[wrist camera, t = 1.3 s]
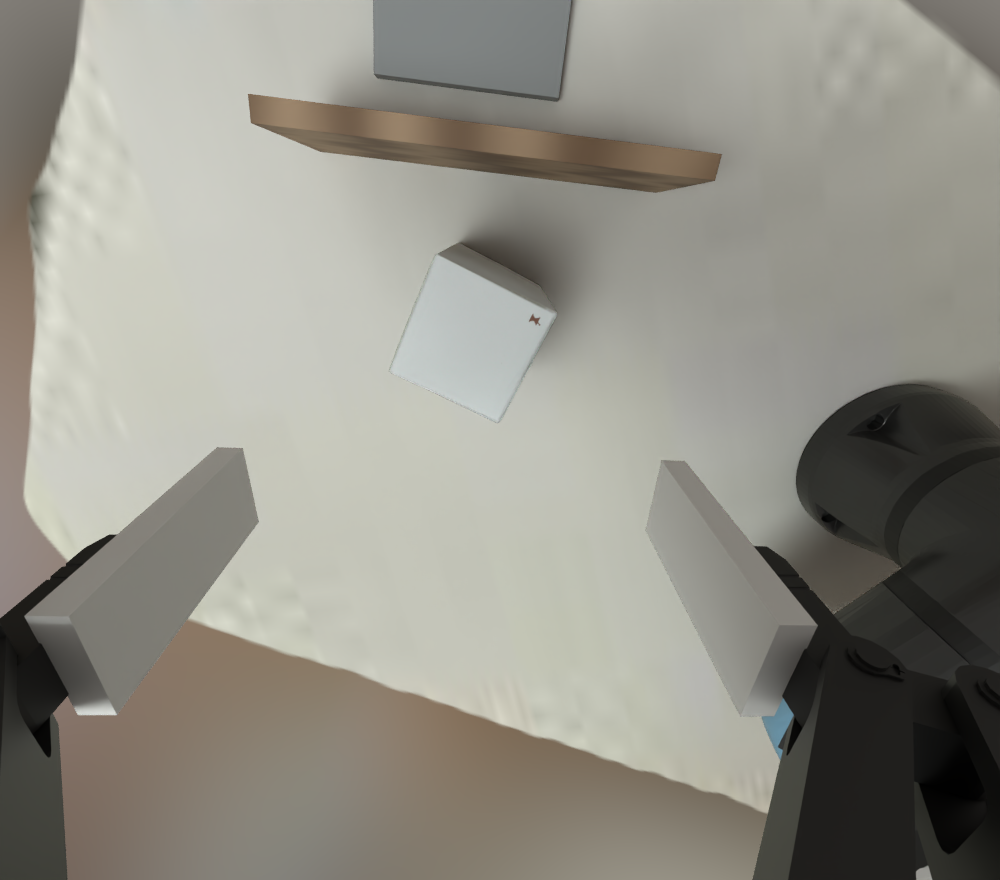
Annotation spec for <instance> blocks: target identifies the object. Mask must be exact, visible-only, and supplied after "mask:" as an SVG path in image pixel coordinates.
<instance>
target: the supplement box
mask: <svg viewBox="0 0 1000 880" xmlns="http://www.w3.org/2000/svg"><path fill="white" fill-rule="evenodd" d="M556 317H557V312H556V310H555V309H554V307H553V306H552V304H551V303H550V301H549V299H548V298H547V296H546V295H545V293H544V292H543V290H542V288H541V287H540V286H539V285H538V284H536V283H534V282H532V281H530V280H528V279H526V278H525V277H523V276H521V275H519V274H517V273H515V272H514V271H512V270H510V269H508V268H506V267H504V266H503V265H501V264H499V263H497V262H495V261H493V260H491V259H489V258H487V257H485V256H483V255H481V254H479V253H478V252H476V251H474V250H472V249H470V248H468V247H466V246H464V245H462V244H460V243H457V244H455V245H453V246H451V247H449V248H447V249H446V250H444V251H442V252H440V253H438V254H436V255H435V257H434V259H433V261H432V263H431V265H430V268H429V270H428V272H427V275H426V277H425V280H424V282H423V285H422V287H421V289H420V292H419V294H418V297H417V299H416V302H415V304H414V307H413V309H412V312H411V314H410V317H409V319H408V322H407V324H406V327H405V329H404V332H403V335H402V337H401V340H400V342H399V345H398V347H397V350H396V353H395V355H394V358H393V361H392V364H391V366H390V369H389V372H390V373H391V374H393V375H396V376H398V377H400V378H402V379H405V380H407V381H409V382H411V383H413V384H416V385H418V386H420V387H422V388H425V389H427V390H429V391H431V392H433V393H435V394H437V395H439V396H442V397H444V398H446V399H448V400H450V401H452V402H454V403H456V404H458V405H460V406H462V407H464V408H466V409H469V410H471V411H473V412H475V413H477V414H479V415H481V416H483V417H485V418H487V419H489V420H491V421H493V422H495V423H499V422H500V421H501V420H502V418H503V416H504V414H505V412H506V411H507V409H508V407H509V405H510V403H511V401H512V399H513V397H514V395H515V393H516V392H517V390H518V388H519V386H520V384H521V382H522V380H523V378H524V377H525V375H526V373H527V371H528V370H529V368H530V366H531V364H532V361H533V359H534V357H535V356H536V354H537V352H538V350H539V348H540V346H541V344H542V342H543V341H544V339H545V337H546V335H547V333H548V331H549V329H550V327H551V326H552V324H553V322H554V320H555V318H556Z"/></svg>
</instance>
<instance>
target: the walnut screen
mask: <svg viewBox="0 0 1000 880" xmlns="http://www.w3.org/2000/svg"><path fill="white" fill-rule="evenodd" d="M248 98H249V108H250V118H251V123H252V124H255V125H257V126H260V127H262V128H265V129H267V130H269V131H272V132H274V133H277V134H279V135H281V136H284V137H286V138H289V139H291V140H293V141H296V142H298V143H301V144H303V145H306V146H308V147H310V148H313V149H315V150H318V151H320V152H328V153H336V154H344V155H352V156H361V157H369V158H377V159H385V160H393V161H402V162H410V163H418V164H426V165H434V166H442V167H451V168H459V169H467V170H475V171H483V172H492V173H500V174H508V175H516V176H524V177H532V178H541V179H549V180H557V181H565V182H573V183H582V184H590V185H598V186H606V187H614V188H622V189H631V190H639V191H647V192H655V193H657V192H662V191H666V190H671V189H676V188H681V187H686V186H691V185H696V184H701V183H705V182H710V181H715V178H716V174H717V170H718V167H719V163H720V159H721V155H722V154H716V153H708V152H701V151H693V150H685V149H677V148H669V147H661V146H653V145H646V144H638V143H630V142H622V141H614V140H606V139H598V138H591V137H583V136H575V135H567V134H559V133H551V132H543V131H535V130H528V129H520V128H512V127H504V126H496V125H488V124H480V123H473V122H465V121H457V120H449V119H441V118H433V117H425V116H418V115H410V114H402V113H394V112H386V111H378V110H370V109H363V108H355V107H347V106H339V105H331V104H323V103H315V102H308V101H300V100H292V99H284V98H276V97H268V96H260V95H252V94H248Z"/></svg>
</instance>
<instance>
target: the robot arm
mask: <svg viewBox="0 0 1000 880" xmlns="http://www.w3.org/2000/svg"><path fill="white" fill-rule="evenodd" d="M796 486H797V493H798V497H799V499H800V502H801V504H802V506H803V507H804V509H805V510H806V511H807V513H808V514H809V515H810V516H811V517H813V518H814V519H815V520H816V521H817V522H818V523H819V524H820V525H821V526H822V527H824V528H825V529H826V530H827V531H829V532H830V533H832V534H833V535H835V536H837V537H839V538H841V539H844V540H846V541H848V542H851V543H853V544H855V545H858V546H860V547H863V548H865V549H867V550H870V551H872V552H874V553H877V554H879V555H881V556H884V557H886V558H889V559H891V560H893V561H894V562H895V563H896V564H898V565H899V566H900V567H901V569H900V570H899V571H897V572H896V573H894V574H893V575H891V576H890V577H889V578H887V579H886V580H884V581H883V582H881V583H879V584H878V585H876V586H875V587H873V588H872V589H870V590H869V591H868V592H866V593H865V594H863V595H862V596H860V597H859V598H857V599H856V600H854V601H853V602H851V603H850V604H848V605H847V606H846V607H844V608H843V609H841V610H840V611H838V612H837V613H835V614H834V615H833V614H832V613H831V611H830V610H829V609H828V608H827V607H826V606H825V605H824V603H823V602H822V601H821V600H820V599H819V598H818V596H817V595H816V594H815V593H814V592H813V591H812V590H810V589H809V586H808V585H807V584H806V583H805V582H804V580H803V579H802V578H799V575H798V573H797V572H796V571H795V570H794V569H793V568H792V567H791V565H790V564H789V563H788V562H787V561H786V560H785V559H784V558H782V557H781V556H779V555H778V554H777V553H775V552H774V551H772V550H771V549H769V548H768V547H761V546H753V545H752V544H751V542H750V541H749V540H748V539H747V537H746V536H745V535H744V534H743V532H742V531H741V530H740V529H739V527H738V526H737V525H736V524H735V523H734V521H733V520H732V519H731V518H730V516H729V515H728V514H727V513H726V511H725V510H724V509H723V508H722V506H721V505H720V504H719V503H718V501H717V500H716V499H715V498H714V497H713V495H712V494H711V493H710V492H709V490H708V489H707V488H706V487H705V485H704V484H703V483H702V482H701V480H700V479H699V478H698V477H697V476H696V474H695V473H694V472H693V471H692V469H691V468H690V467H689V466H688V464H687V463H686V462H685V461H666V460H661V465H660V469H659V473H658V478H657V482H656V486H655V491H654V495H653V500H652V504H651V508H650V513H649V517H648V521H647V526H646V532H647V534H648V536H649V538H650V540H651V542H652V544H653V546H654V548H655V550H656V552H657V554H658V556H659V558H660V560H661V562H662V564H663V566H664V568H665V570H666V571H667V573H668V575H669V577H670V579H671V581H672V583H673V585H674V587H675V589H676V591H677V593H678V595H679V597H680V599H681V601H682V603H683V605H684V607H685V609H686V611H687V613H688V615H689V617H690V619H691V621H692V623H693V625H694V627H695V629H696V631H697V633H698V634H699V636H700V638H701V640H702V642H703V644H704V646H705V648H706V650H707V652H708V654H709V656H710V658H711V660H712V662H713V664H714V666H715V668H716V670H717V672H718V674H719V676H720V678H721V680H722V682H723V684H724V686H725V688H726V690H727V692H728V694H729V696H730V697H731V699H732V701H733V703H734V705H735V707H736V709H737V711H738V713H739V715H740V716H761V717H762V720H763V723H764V726H765V728H766V731H767V733H768V735H769V738H770V740H771V742H772V744H773V747H774V749H775V751H776V753H777V755H778V757H779V759H780V765H779V769H778V773H777V777H776V782H775V786H774V790H773V794H772V799H771V803H770V807H769V812H768V816H767V821H766V825H765V829H764V833H763V837H762V842H761V846H760V850H759V854H758V859H757V863H756V867H755V871H754V876H753V880H1000V429H999V428H998V427H997V426H996V425H995V424H994V423H993V422H992V421H991V420H989V419H988V418H987V417H986V416H985V415H984V414H983V413H982V412H981V411H980V410H979V409H977V408H976V407H975V406H974V405H972V404H971V403H969V402H968V401H966V400H964V399H962V398H960V397H958V396H955V395H952V394H950V393H947V392H944V391H942V390H939V389H936V388H933V387H929V386H924V385H899V386H893V387H888V388H884V389H880V390H877V391H874V392H872V393H869V394H867V395H864V396H862V397H860V398H858V399H856V400H855V401H853V402H851V403H849V404H848V405H846V406H845V407H843V408H842V409H840V410H839V411H838V412H836V413H835V414H834V415H833V416H832V417H830V418H829V419H828V420H827V421H826V422H825V423H824V424H823V425H822V426H821V427H820V428H819V430H818V431H817V432H816V433H815V434H814V436H813V437H812V439H811V440H810V442H809V443H808V445H807V447H806V448H805V450H804V452H803V454H802V457H801V459H800V462H799V466H798V470H797V477H796ZM258 522H259V521H258V516H257V512H256V507H255V502H254V498H253V493H252V489H251V484H250V479H249V475H248V470H247V466H246V461H245V457H244V452H243V448H219V447H217V448H216V449H215V450H214V451H212V452H211V453H210V454H209V455H208V456H207V457H206V458H204V459H203V460H202V461H201V462H200V463H199V464H198V465H196V466H195V467H194V468H193V469H192V470H191V471H190V472H188V473H187V474H186V475H185V476H184V477H183V478H182V479H180V480H179V481H178V482H177V483H176V484H175V485H174V486H172V487H171V488H170V489H169V490H168V491H167V492H166V493H164V494H163V495H162V496H161V497H160V498H159V499H158V500H156V501H155V502H154V503H153V504H152V505H151V506H149V507H148V508H147V509H146V510H145V511H144V512H143V513H141V514H140V515H139V516H138V517H137V518H136V519H135V520H133V521H132V522H131V523H130V524H129V525H128V526H127V527H125V528H124V529H123V530H122V531H121V532H120V533H119V534H117V535H108V536H106V537H104V538H102V539H100V540H99V541H97V542H95V543H93V544H91V545H89V546H87V547H86V548H84V549H83V550H82V551H80V552H79V553H78V554H77V555H76V556H75V557H73V558H72V559H71V560H70V561H69V562H67V563H66V566H65V567H61V568H60V569H59V570H58V571H57V572H55V573H54V574H53V575H52V576H51V579H50V580H46V581H45V582H43V583H42V584H41V585H40V586H39V587H37V588H36V589H35V590H34V591H33V592H31V593H30V594H29V595H28V596H27V597H25V598H24V599H23V600H22V601H21V602H19V603H18V604H17V605H16V606H15V607H13V608H12V609H11V610H10V611H9V612H7V613H6V614H5V615H4V616H3V617H1V618H0V880H67V865H66V847H65V830H64V813H63V796H62V779H61V761H60V745H59V728H58V723H57V721H56V719H55V717H54V715H53V712H54V711H55V710H56V709H57V707H58V706H59V705H60V704H61V703H62V702H63V700H64V699H65V698H66V697H67V696H68V697H69V699H70V701H71V703H72V705H73V706H74V708H75V710H76V712H77V714H78V715H117V714H118V713H119V711H120V710H121V709H122V707H123V706H124V705H125V703H126V702H127V700H128V699H129V697H130V696H131V695H132V694H133V692H134V691H135V690H136V688H137V687H138V686H139V684H140V683H141V681H142V680H143V679H144V677H145V676H146V675H147V673H148V672H149V671H150V669H151V668H152V666H153V665H154V664H155V662H156V661H157V660H158V658H159V657H160V655H161V654H162V653H163V651H164V650H165V649H166V647H167V646H168V645H169V643H170V642H171V641H172V639H173V638H174V637H175V635H176V634H177V632H178V631H179V630H180V628H181V627H182V626H183V624H184V623H185V622H186V620H187V619H188V617H189V616H190V615H191V613H192V612H193V611H194V609H195V608H196V607H197V605H198V604H199V602H200V601H201V600H202V598H203V597H204V596H205V594H206V593H207V592H208V590H209V589H210V587H211V586H212V585H213V583H214V582H215V581H216V579H217V578H218V577H219V575H220V574H221V572H222V571H223V570H224V568H225V567H226V566H227V564H228V563H229V562H230V560H231V559H232V557H233V556H234V555H235V553H236V552H237V551H238V549H239V548H240V547H241V545H242V544H243V543H244V541H245V540H246V538H247V537H248V536H249V534H250V533H251V532H252V530H253V529H254V528H255V526H256V525H257V523H258Z"/></svg>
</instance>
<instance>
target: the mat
mask: <svg viewBox="0 0 1000 880" xmlns="http://www.w3.org/2000/svg"><path fill="white" fill-rule="evenodd" d="M570 7H571V0H373V29H374V75H375V76H376V77H377V78H380V79H387V80H395V81H403V82H410V83H418V84H426V85H433V86H441V87H449V88H456V89H464V90H472V91H479V92H487V93H495V94H502V95H510V96H518V97H525V98H533V99H541V100H548V101H556V102H557V100H558V98H559V91H560V83H561V76H562V68H563V60H564V53H565V45H566V37H567V30H568V22H569V14H570Z"/></svg>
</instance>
